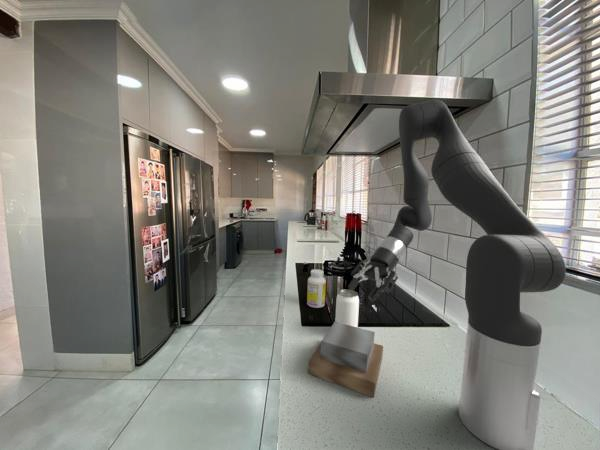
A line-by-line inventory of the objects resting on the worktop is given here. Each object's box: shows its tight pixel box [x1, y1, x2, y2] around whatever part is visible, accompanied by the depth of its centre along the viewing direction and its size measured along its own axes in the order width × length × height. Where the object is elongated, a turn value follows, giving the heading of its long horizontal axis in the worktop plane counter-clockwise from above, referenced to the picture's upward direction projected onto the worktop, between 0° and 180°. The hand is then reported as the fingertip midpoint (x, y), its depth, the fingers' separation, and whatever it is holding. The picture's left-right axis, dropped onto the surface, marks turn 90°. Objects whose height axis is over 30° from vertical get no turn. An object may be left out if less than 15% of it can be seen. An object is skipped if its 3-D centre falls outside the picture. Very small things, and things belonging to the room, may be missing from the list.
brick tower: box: [307, 321, 384, 398], centre depth 56 cm, size 14×14×7 cm
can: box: [334, 289, 360, 328], centre depth 70 cm, size 6×6×12 cm
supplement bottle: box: [306, 268, 327, 309], centre depth 89 cm, size 7×7×13 cm
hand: (359, 294), depth 72 cm, fingers open, 8 cm apart
